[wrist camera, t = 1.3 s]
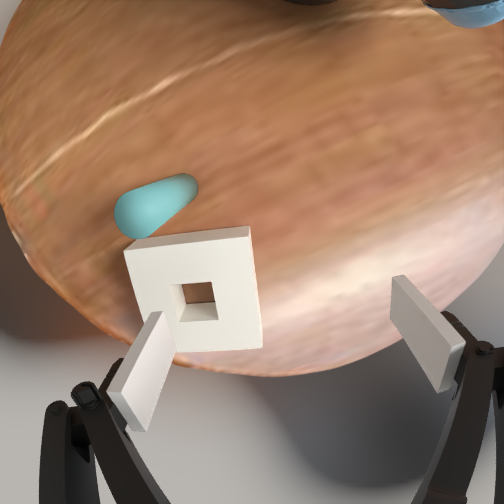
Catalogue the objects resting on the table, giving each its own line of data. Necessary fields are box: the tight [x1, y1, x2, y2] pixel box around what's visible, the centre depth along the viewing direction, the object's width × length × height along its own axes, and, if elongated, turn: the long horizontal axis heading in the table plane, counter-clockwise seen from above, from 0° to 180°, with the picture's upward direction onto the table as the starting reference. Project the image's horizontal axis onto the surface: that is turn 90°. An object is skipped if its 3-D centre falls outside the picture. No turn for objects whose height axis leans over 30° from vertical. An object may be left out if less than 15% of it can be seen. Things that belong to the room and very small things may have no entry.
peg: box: [114, 173, 198, 239], centre depth 30 cm, size 4×4×16 cm
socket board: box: [123, 226, 262, 352], centre depth 39 cm, size 16×16×5 cm
